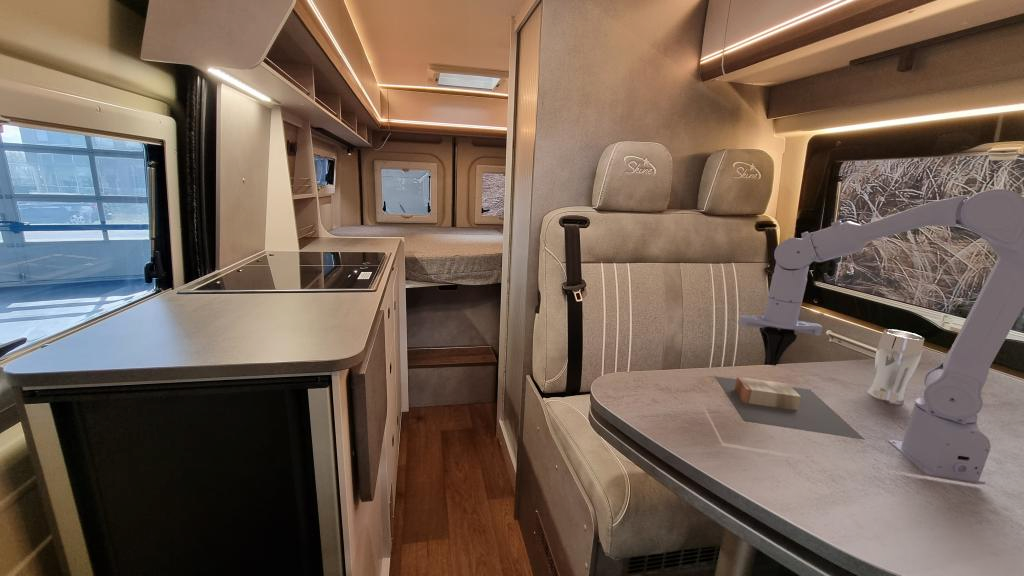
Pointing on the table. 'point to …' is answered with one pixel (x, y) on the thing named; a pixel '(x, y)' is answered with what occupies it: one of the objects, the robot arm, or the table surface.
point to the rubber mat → (792, 413)
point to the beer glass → (895, 364)
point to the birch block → (767, 393)
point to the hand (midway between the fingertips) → (770, 363)
